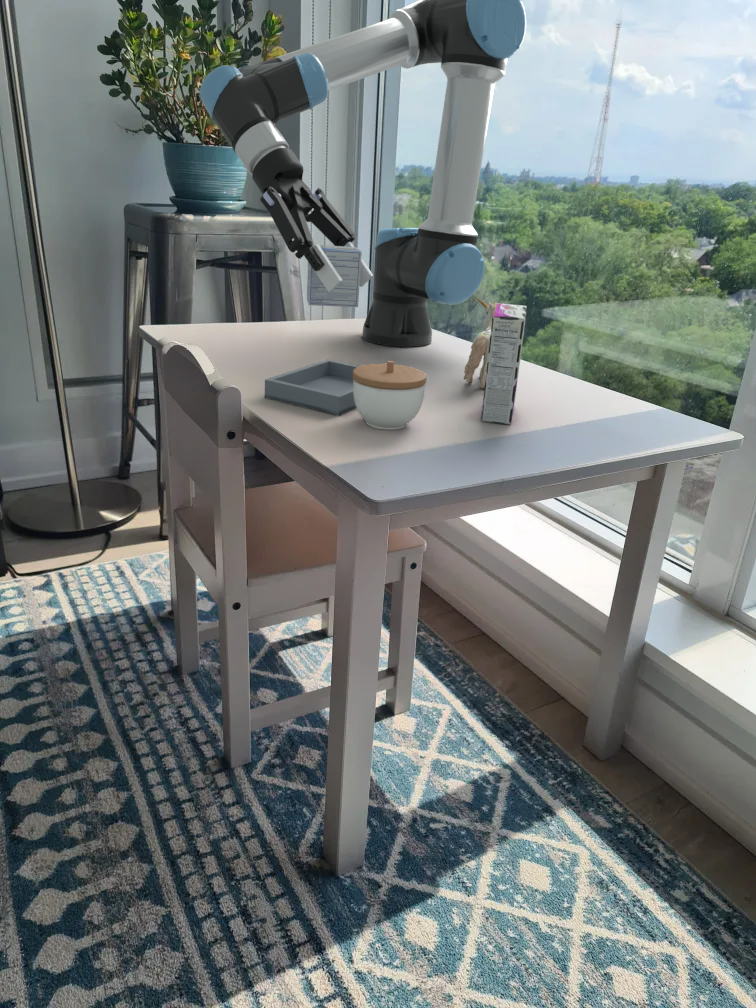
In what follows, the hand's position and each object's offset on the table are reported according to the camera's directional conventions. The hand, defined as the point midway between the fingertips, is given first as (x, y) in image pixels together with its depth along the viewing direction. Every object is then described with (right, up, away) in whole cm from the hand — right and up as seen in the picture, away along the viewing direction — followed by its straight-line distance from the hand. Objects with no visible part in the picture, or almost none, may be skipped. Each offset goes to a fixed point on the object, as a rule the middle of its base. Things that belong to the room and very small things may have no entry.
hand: (351, 283), depth 118 cm
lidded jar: (+5, -22, -4) cm, 23 cm away
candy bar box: (+23, -20, +4) cm, 31 cm away
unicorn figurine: (+21, -11, +23) cm, 33 cm away
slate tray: (-4, -16, +8) cm, 18 cm away
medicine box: (-3, -3, +3) cm, 5 cm away
